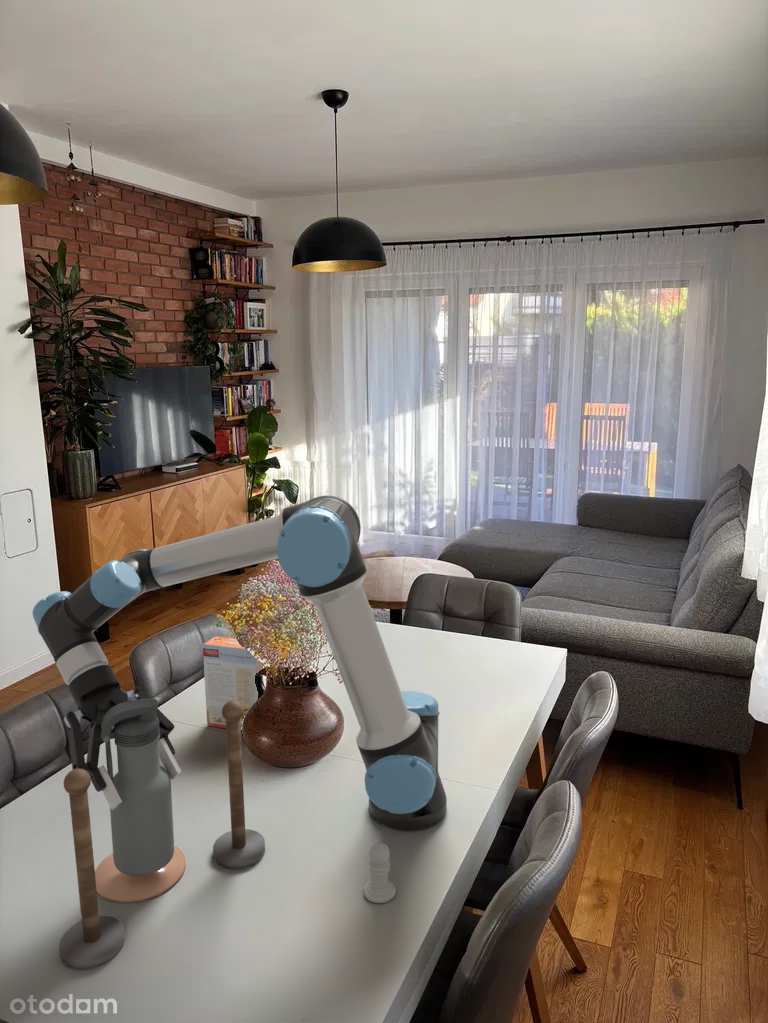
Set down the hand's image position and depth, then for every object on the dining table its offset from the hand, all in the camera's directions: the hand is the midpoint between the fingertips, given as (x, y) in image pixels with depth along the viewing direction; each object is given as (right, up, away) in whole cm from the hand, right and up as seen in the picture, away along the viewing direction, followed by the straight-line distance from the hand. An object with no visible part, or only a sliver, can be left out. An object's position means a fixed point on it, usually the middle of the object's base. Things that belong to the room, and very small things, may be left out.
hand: (147, 790), depth 123 cm
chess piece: (+38, -17, +1) cm, 42 cm away
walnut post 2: (+13, -15, +11) cm, 23 cm away
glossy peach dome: (-3, -16, +6) cm, 18 cm away
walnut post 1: (-5, -20, -10) cm, 22 cm away
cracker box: (+4, -6, +58) cm, 59 cm away
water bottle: (-2, -14, +5) cm, 14 cm away
